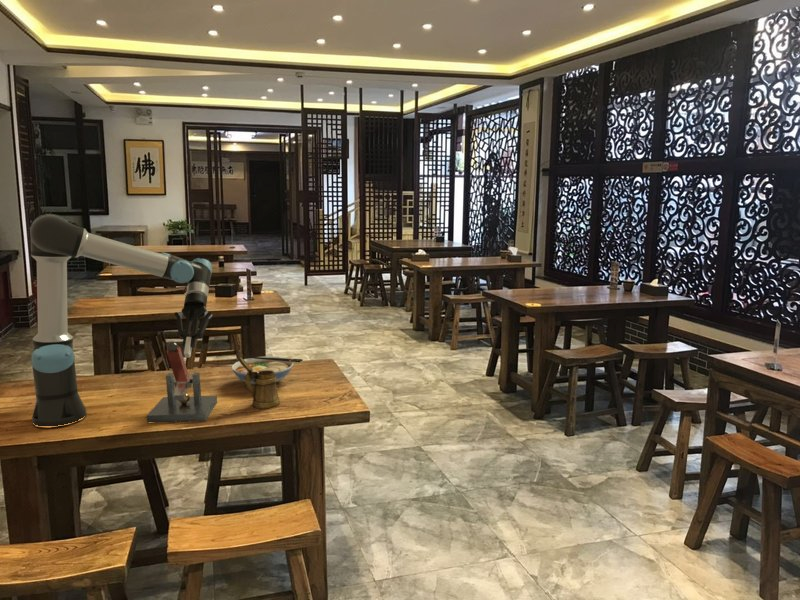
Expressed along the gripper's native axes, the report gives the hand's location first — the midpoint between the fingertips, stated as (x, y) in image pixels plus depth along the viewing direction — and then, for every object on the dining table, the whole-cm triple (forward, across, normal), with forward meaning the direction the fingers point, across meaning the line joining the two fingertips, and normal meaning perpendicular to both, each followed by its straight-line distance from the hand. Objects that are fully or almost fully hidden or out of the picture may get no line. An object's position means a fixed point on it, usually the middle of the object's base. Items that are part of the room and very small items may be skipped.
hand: (187, 355), depth 206 cm
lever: (+12, 0, -2) cm, 12 cm away
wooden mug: (+14, -24, -11) cm, 30 cm away
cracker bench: (+18, 0, -7) cm, 19 cm away
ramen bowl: (-2, -21, -27) cm, 35 cm away
